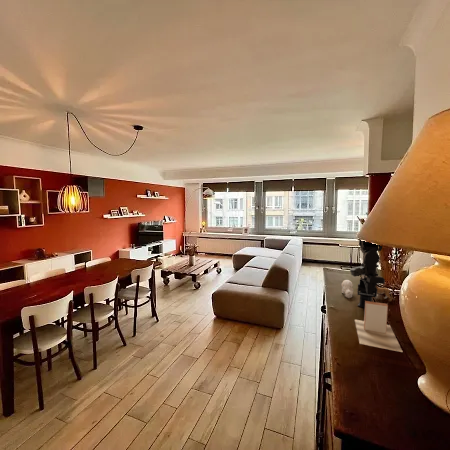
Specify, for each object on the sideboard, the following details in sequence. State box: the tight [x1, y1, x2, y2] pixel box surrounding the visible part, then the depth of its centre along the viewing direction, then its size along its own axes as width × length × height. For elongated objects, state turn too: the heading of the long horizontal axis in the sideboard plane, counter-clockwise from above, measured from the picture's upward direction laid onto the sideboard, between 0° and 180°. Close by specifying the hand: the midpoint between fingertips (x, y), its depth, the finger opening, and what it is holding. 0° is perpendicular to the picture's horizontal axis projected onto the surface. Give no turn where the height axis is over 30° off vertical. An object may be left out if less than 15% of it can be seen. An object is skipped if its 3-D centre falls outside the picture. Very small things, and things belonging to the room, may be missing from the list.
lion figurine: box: [372, 284, 395, 302], centre depth 145 cm, size 15×5×9 cm, turn 63°
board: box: [354, 319, 403, 353], centre depth 104 cm, size 22×14×1 cm, turn 157°
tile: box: [363, 301, 389, 333], centre depth 106 cm, size 2×8×12 cm, turn 67°
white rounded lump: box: [341, 279, 354, 299], centre depth 149 cm, size 6×8×12 cm
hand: (368, 294), depth 120 cm, fingers closed
